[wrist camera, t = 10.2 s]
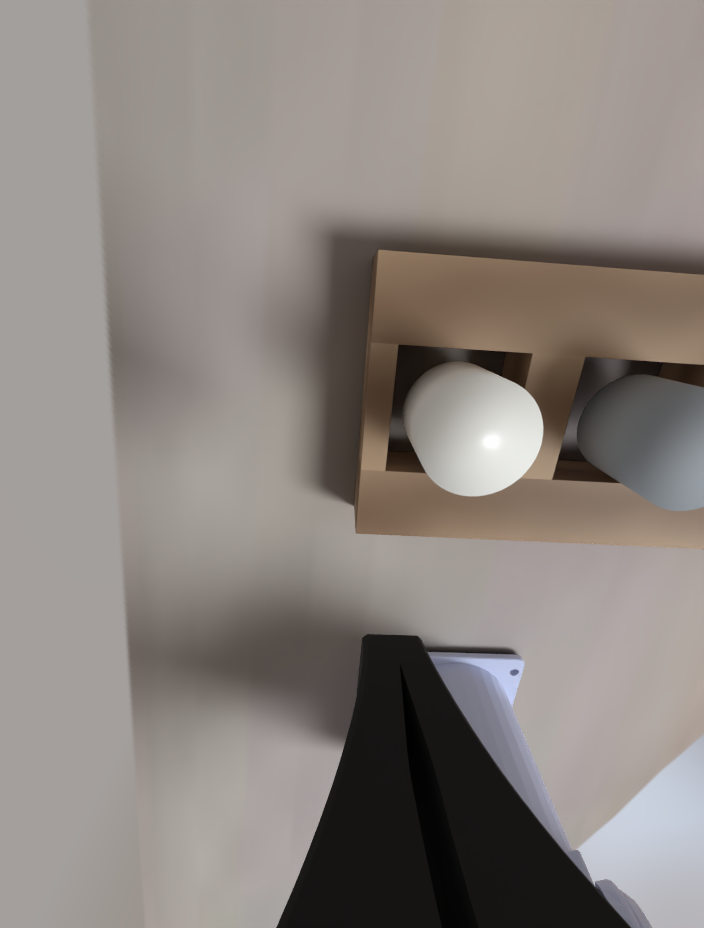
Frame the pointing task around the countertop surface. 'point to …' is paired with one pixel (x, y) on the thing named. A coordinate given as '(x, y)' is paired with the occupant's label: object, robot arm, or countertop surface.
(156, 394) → the countertop surface
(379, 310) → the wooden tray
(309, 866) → the robot arm
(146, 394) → the countertop surface
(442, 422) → the white rounded cylinder
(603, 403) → the grey rounded piece
